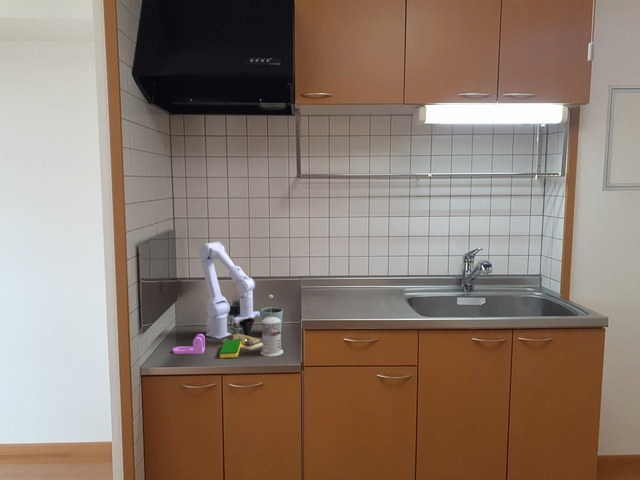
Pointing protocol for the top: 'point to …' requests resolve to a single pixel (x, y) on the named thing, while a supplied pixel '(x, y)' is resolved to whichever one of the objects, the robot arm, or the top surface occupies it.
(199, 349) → the bracket
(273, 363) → the top surface
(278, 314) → the drinking glass
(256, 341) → the strip
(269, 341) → the french press
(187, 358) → the top surface
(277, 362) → the top surface
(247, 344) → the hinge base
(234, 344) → the dish sponge
